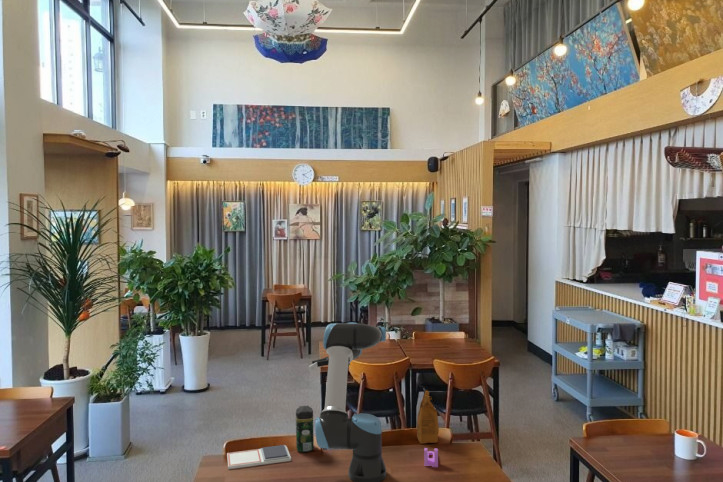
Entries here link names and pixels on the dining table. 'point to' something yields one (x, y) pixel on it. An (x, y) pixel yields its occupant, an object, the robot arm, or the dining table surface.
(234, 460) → the board
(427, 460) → the bracket
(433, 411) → the coffee package
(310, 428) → the coffee jar
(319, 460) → the dining table surface
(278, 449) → the ink pad
